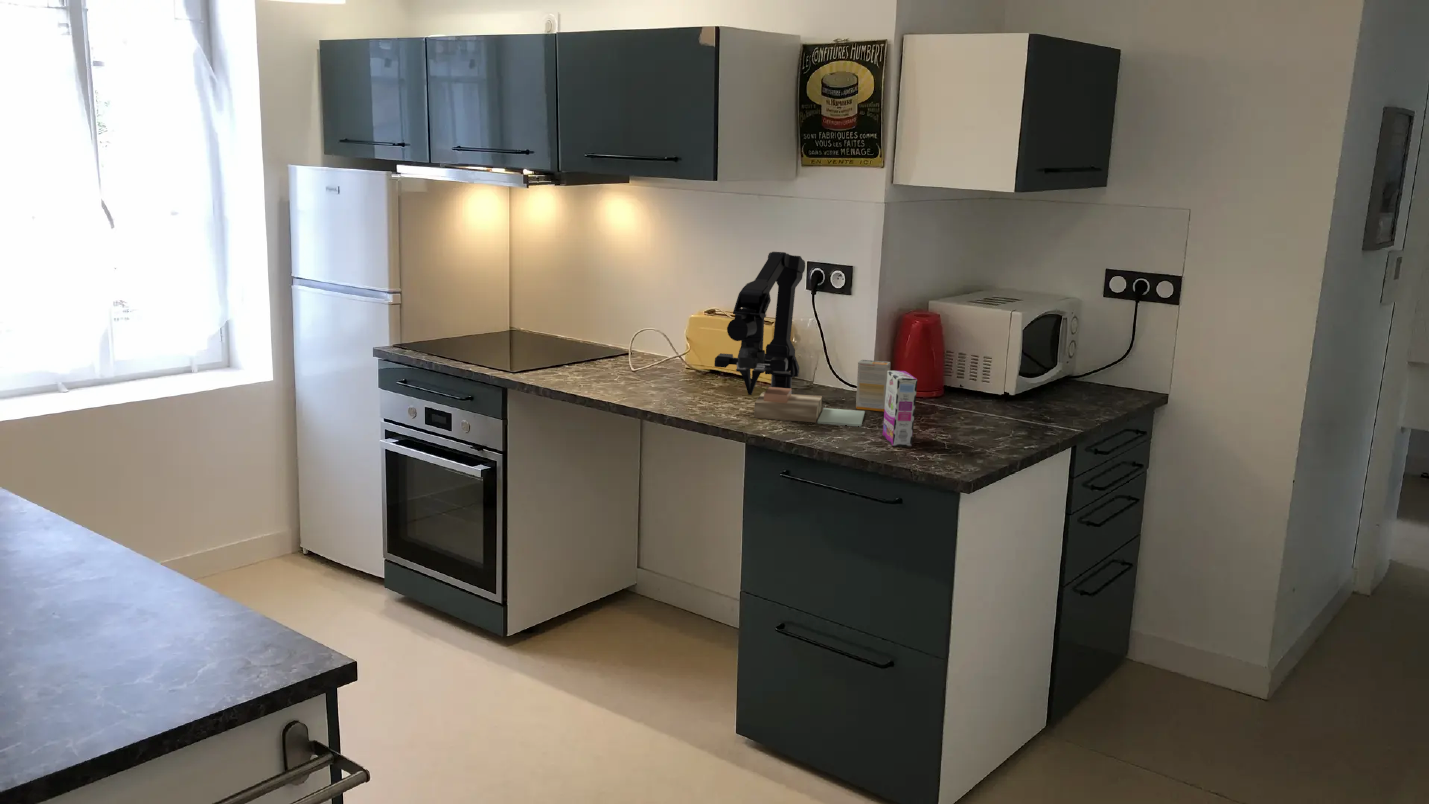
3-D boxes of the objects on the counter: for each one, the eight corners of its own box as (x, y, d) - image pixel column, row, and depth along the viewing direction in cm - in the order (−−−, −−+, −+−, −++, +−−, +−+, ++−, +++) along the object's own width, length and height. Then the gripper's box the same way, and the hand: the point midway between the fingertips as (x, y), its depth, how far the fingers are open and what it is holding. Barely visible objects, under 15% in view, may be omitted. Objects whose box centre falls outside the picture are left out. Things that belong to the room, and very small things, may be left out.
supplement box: (888, 409, 303) (891, 361, 300) (885, 412, 298) (888, 364, 296) (858, 405, 305) (861, 358, 303) (854, 409, 301) (857, 361, 298)
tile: (768, 394, 297) (769, 386, 296) (791, 395, 296) (791, 388, 295) (763, 401, 288) (764, 393, 288) (786, 402, 287) (787, 395, 287)
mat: (823, 410, 298) (823, 408, 298) (864, 413, 296) (864, 411, 296) (817, 423, 283) (817, 421, 283) (860, 426, 281) (861, 424, 281)
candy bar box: (913, 447, 263) (918, 378, 259) (892, 446, 262) (897, 378, 259) (901, 435, 273) (906, 369, 270) (881, 435, 273) (886, 369, 270)
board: (762, 406, 300) (762, 391, 300) (821, 410, 297) (822, 396, 297) (754, 417, 287) (754, 402, 286) (815, 422, 284) (816, 407, 283)
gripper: (711, 338, 284) (709, 398, 287) (783, 343, 280) (781, 403, 284) (719, 332, 294) (717, 389, 298) (789, 336, 291) (786, 394, 294)
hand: (750, 394), depth 293 cm, fingers closed
